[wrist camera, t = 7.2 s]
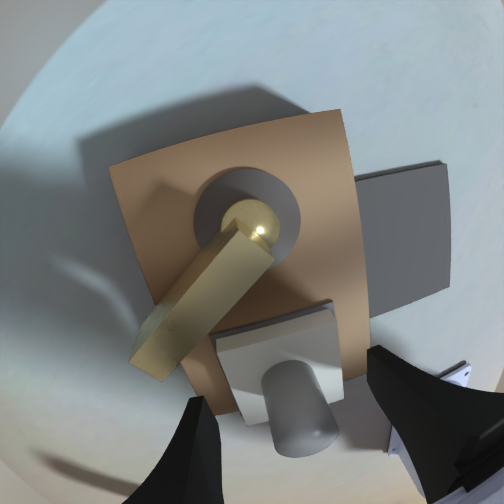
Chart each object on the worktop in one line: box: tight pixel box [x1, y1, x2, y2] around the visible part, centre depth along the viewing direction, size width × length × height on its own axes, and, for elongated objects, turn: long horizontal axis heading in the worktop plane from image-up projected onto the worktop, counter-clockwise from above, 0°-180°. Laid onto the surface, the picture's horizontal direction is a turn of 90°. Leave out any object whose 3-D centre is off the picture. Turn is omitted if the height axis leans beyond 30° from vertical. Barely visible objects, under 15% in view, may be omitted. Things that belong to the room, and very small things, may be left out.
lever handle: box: [129, 197, 280, 382], centre depth 10 cm, size 7×2×3 cm, turn 139°
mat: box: [355, 163, 451, 318], centre depth 16 cm, size 8×7×1 cm
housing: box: [108, 109, 370, 416], centre depth 14 cm, size 13×9×3 cm
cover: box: [216, 308, 344, 458], centre depth 12 cm, size 5×5×4 cm
